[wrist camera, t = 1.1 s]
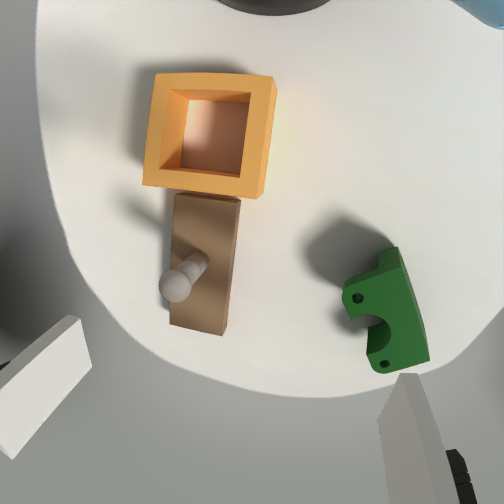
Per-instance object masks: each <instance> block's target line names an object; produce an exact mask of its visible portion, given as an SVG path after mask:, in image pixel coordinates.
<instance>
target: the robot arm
mask: <svg viewBox="0 0 504 504" xmlns="http://www.w3.org/2000/svg"><path fill="white" fill-rule="evenodd" d="M220 1H221V2H223V3H224V4H226V5H228V6H230V7H232V8H234V9H237V10H240V11H243V12H247V13H251V14H257V15H266V16H282V15H292V14H298V13H302V12H306V11H309V10H312V9H315V8H317V7H320V6H322V5H323V4H325V3H327V2H328V1H330V0H220ZM451 1H452V2H454V3H455V4H457V5H458V6H460V7H461V8H463V9H464V10H466V11H467V12H469V13H470V14H472V15H473V16H474V17H476V18H477V19H478V20H480V21H481V22H483V23H484V24H486V25H488V26H490V27H493V28H496V29H500V30H504V0H451ZM91 367H92V365H91V361H90V357H89V353H88V350H87V346H86V342H85V338H84V333H83V329H82V325H81V320H80V318H76V317H74V316H71V315H67V316H66V317H64V318H63V319H62V320H61V321H59V323H57V324H56V325H54V326H53V327H52V328H51V329H50V330H48V331H47V332H46V333H44V334H43V335H42V336H41V337H40V338H38V339H37V340H36V341H35V342H34V343H32V344H31V345H30V346H29V347H27V348H26V349H25V350H24V351H23V352H22V353H20V354H19V355H18V356H17V357H16V358H15V359H13V360H12V361H8V362H6V363H4V364H2V365H0V450H1V451H2V452H4V453H5V454H6V455H7V456H8V457H10V458H11V459H13V458H14V457H15V456H16V455H17V454H18V452H19V451H20V450H21V449H22V447H23V446H24V445H25V444H26V443H27V441H28V440H29V439H30V438H31V437H32V435H33V434H34V433H35V432H36V430H37V429H38V428H39V427H40V426H41V425H42V423H43V422H44V421H45V420H46V419H47V417H48V416H49V415H50V414H51V413H52V412H53V411H54V409H55V408H56V407H57V406H58V405H59V404H60V403H61V401H62V400H63V399H64V398H65V397H66V396H67V394H68V393H69V392H70V391H71V390H72V389H73V388H74V387H75V385H76V384H77V383H78V382H79V381H80V380H81V379H82V377H83V376H84V375H85V374H86V373H87V372H88V371H89V370H90V369H91ZM377 421H378V427H379V433H380V439H381V445H382V451H383V457H384V464H385V471H386V479H387V486H388V495H389V504H477V500H476V497H475V493H474V490H473V486H472V483H470V481H471V479H470V476H469V473H467V472H468V470H467V467H466V463H465V460H464V458H463V457H462V456H461V455H460V454H459V452H458V451H457V450H456V449H452V450H446V451H445V448H444V445H443V442H442V439H441V436H440V433H439V430H438V427H437V424H436V422H435V419H434V416H433V413H432V410H431V408H430V405H429V402H428V400H427V397H426V394H425V392H424V389H423V387H422V384H421V382H420V379H419V377H418V374H417V373H400V375H399V377H398V379H397V381H396V383H395V386H394V388H393V390H392V392H391V394H390V396H389V398H388V400H387V402H386V404H385V406H384V408H383V410H382V412H381V414H380V416H379V418H378V419H377Z"/></svg>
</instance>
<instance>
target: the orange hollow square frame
mask: <svg viewBox="0 0 504 504" xmlns="http://www.w3.org/2000/svg"><path fill="white" fill-rule="evenodd" d="M276 96H277V89H276V86H275V82H274V79H273V77H271V76H260V75H248V74H231V73H162V74H156V76H155V82H154V88H153V94H152V100H151V107H150V114H149V121H148V129H147V138H146V147H145V157H144V168H143V180H142V185H145V186H154V187H164V188H173V189H182V190H190V191H198V192H206V193H214V194H222V195H229V196H236V197H243V198H250V199H257V198H258V197H260V196H261V195H262V194H263V191H264V184H265V177H266V169H267V162H268V155H269V147H270V140H271V133H272V125H273V118H274V111H275V103H276ZM189 100H214V101H231V102H244V103H250V105H249V112H248V119H247V127H246V134H245V141H244V149H243V157H242V164H241V172H240V174H234V173H226V172H218V171H209V170H199V169H189V168H180V166H181V157H182V148H183V140H184V132H185V124H186V117H187V109H188V103H189Z"/></svg>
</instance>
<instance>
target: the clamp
mask: <svg viewBox="0 0 504 504" xmlns="http://www.w3.org/2000/svg"><path fill="white" fill-rule="evenodd" d="M342 301H343V304H344V306H345V308H346V310H347V312H348V314H349V317H350V319H353V318H355V317H357V316H360V315H375V316H378V317H380V318H382V319H384V321H383V322H382V323H380V324H379V325H376V326H372V327H368V339H367V351H366V355H367V357H368V359H369V362H370V364H371V367H372V369H373V370H374V371H376V372H378V373H382V374H385V373H390V372H393V371H397V370H401V369H404V368H408V367H411V366H414V365H418V364H421V363H424V362H427V361H430V357H429V351H428V344H427V338H426V333H425V328H424V324H423V320H422V317H421V313H420V310H419V307H418V304H417V300H416V297H415V294H414V291H413V288H412V285H411V282H410V279H409V276H408V273H407V270H406V267H405V265H404V262H403V259H402V256H401V254H400V251H399V249H398V247H394V248H392V249H389V250H387V251H384V252H382V253H379V254H378V268H376V269H374V270H371V271H368V272H366V273H363V274H360V275H358V276H355V277H352V278H350V279H349V280H347V282H346V283H345V285H344V288H343V293H342Z"/></svg>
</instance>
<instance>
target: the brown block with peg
mask: <svg viewBox="0 0 504 504" xmlns="http://www.w3.org/2000/svg"><path fill="white" fill-rule="evenodd" d="M240 206H241V200H234V199H227V198H219V197H212V196H204V195H196V194H188V193H180V194H177V195H175V200H174V213H173V228H172V246H171V270H168V271H167V272H165V273H164V274H163V275H162V276H161V278H160V281H159V290H160V293H161V295H162V296H163V297H164V298H165V299H166V300H168V301H170V324H171V325H175V326H179V327H183V328H188V329H192V330H196V331H200V332H205V333H209V334H214V335H219V336H223V334H224V331H225V329H226V327H227V317H228V308H229V299H230V290H231V281H232V273H233V264H234V255H235V247H236V238H237V230H238V222H239V214H240Z"/></svg>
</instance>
